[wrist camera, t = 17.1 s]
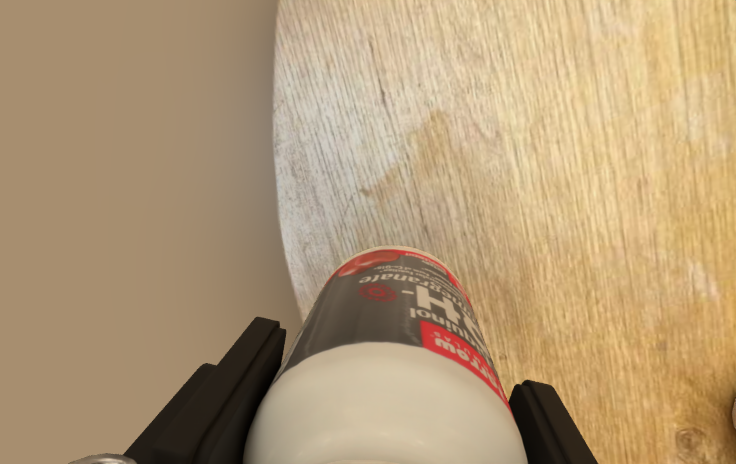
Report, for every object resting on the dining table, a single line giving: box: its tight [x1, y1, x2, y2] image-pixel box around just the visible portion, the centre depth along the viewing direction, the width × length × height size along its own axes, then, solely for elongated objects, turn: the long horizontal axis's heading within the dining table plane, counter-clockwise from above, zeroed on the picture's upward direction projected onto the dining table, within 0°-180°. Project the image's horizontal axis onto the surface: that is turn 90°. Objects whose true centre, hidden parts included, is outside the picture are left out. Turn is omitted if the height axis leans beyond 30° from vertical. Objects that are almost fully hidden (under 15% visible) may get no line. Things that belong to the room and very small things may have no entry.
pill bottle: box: [243, 245, 528, 464], centre depth 9 cm, size 5×5×10 cm
